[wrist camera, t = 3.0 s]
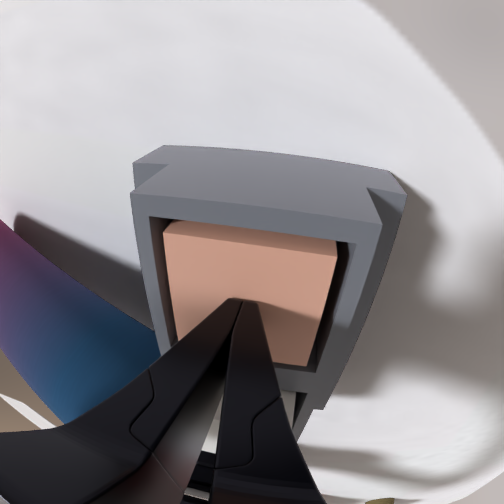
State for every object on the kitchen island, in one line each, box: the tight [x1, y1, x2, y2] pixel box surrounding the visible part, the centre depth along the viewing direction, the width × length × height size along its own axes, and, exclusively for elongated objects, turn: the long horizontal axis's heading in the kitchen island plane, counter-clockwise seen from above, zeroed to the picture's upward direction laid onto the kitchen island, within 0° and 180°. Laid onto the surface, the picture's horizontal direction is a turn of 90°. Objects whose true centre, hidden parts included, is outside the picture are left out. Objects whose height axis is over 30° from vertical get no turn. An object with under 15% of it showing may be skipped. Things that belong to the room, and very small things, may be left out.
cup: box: [0, 220, 161, 424], centre depth 13 cm, size 7×7×15 cm
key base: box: [130, 145, 407, 442], centre depth 13 cm, size 13×9×5 cm
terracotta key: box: [163, 219, 337, 366], centre depth 9 cm, size 4×4×2 cm
